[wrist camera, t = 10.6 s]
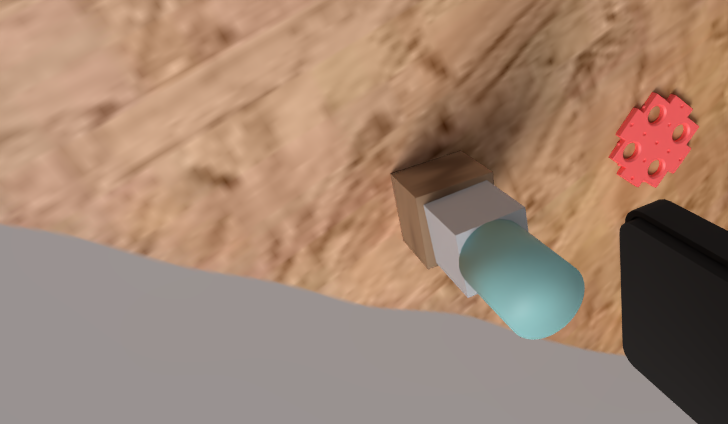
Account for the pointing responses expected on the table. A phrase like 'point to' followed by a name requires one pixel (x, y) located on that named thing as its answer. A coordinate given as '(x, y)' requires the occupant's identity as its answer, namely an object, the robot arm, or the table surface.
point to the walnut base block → (431, 195)
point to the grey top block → (467, 223)
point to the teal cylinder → (521, 279)
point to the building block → (654, 140)
